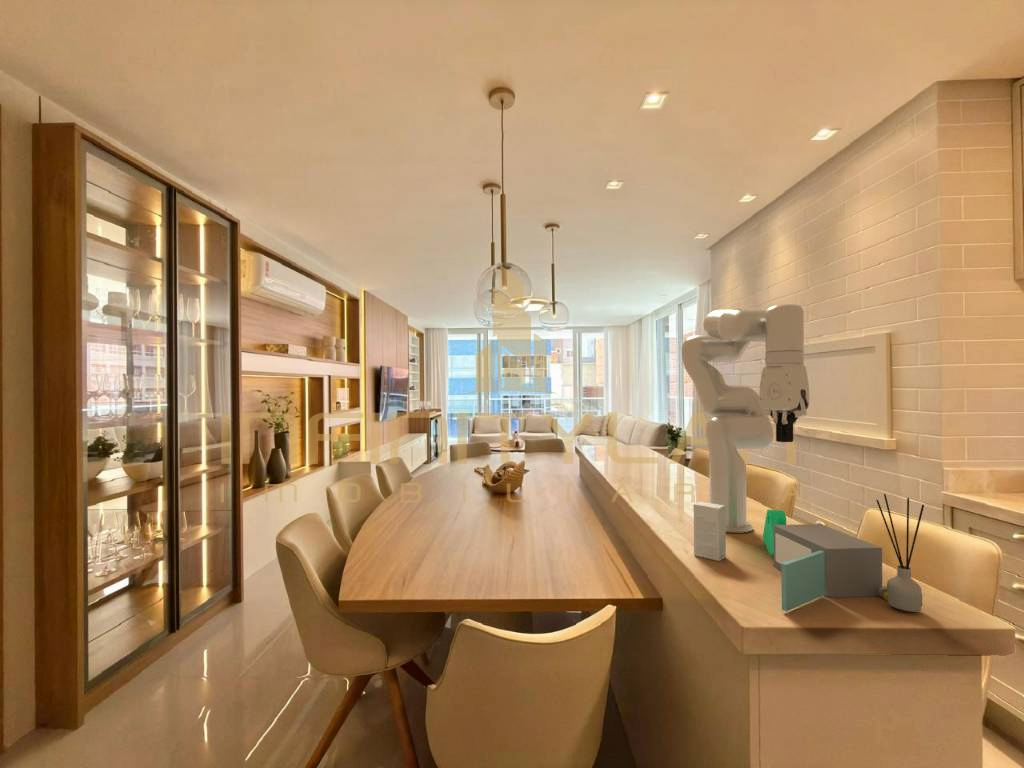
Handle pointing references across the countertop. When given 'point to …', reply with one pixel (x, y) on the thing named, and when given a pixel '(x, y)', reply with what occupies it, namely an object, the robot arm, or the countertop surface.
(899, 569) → the reed diffuser
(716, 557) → the skincare box
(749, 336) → the robot arm
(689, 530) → the countertop surface
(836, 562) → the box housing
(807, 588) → the side door
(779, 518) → the camera mount
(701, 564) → the countertop surface
